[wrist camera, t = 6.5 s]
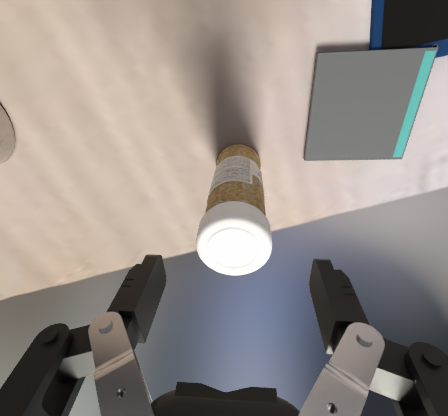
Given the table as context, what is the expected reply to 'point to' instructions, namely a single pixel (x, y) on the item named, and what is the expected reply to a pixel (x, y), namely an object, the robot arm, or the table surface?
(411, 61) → the mat
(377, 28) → the cell phone
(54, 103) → the table surface
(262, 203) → the sprinkles bottle
